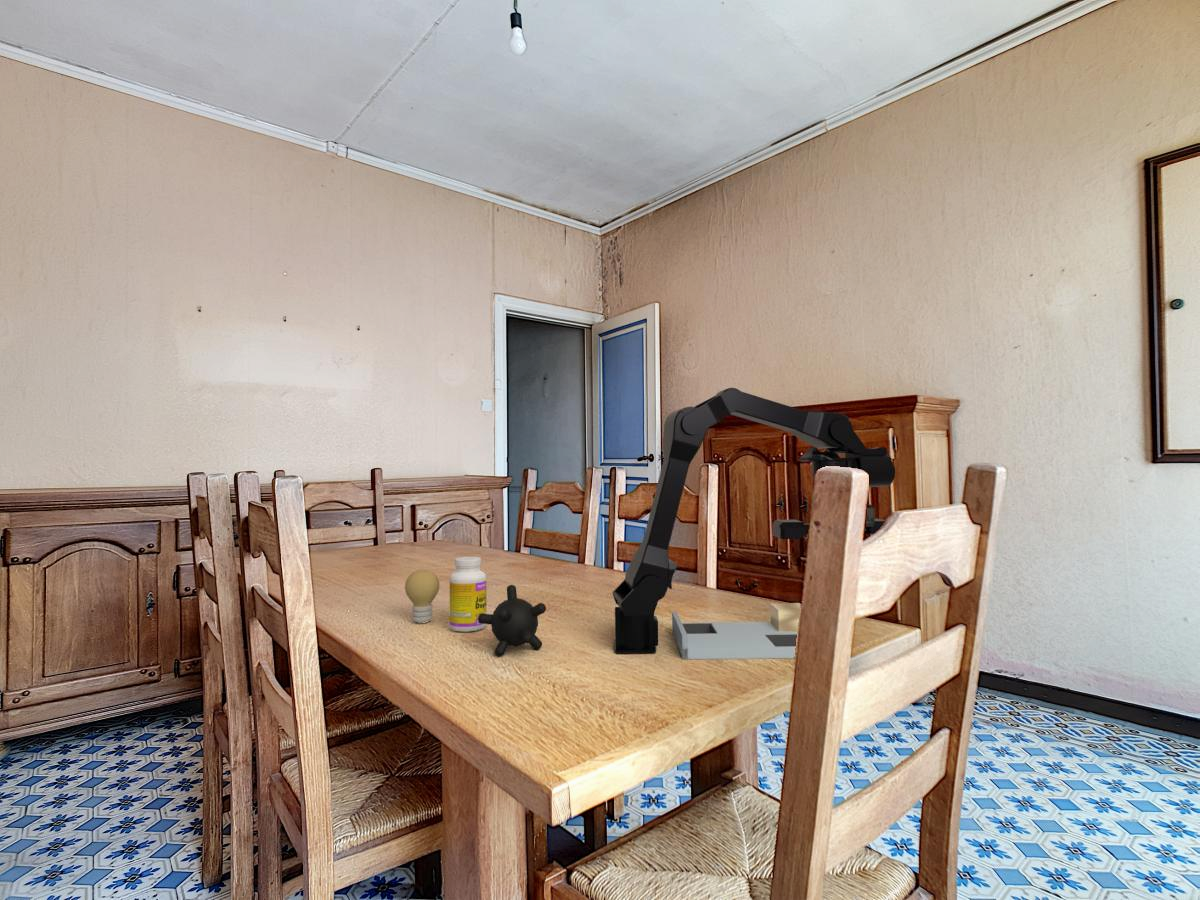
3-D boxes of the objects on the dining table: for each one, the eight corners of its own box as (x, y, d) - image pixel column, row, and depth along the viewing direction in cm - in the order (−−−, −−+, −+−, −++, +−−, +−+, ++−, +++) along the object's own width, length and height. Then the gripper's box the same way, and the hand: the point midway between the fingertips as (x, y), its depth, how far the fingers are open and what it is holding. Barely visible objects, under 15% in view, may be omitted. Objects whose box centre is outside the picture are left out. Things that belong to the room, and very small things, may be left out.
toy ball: (482, 648, 89) (458, 611, 99) (524, 684, 94) (497, 645, 105) (534, 595, 92) (505, 564, 102) (572, 633, 97) (541, 600, 107)
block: (778, 631, 100) (778, 610, 101) (770, 623, 105) (770, 603, 106) (809, 631, 100) (808, 609, 100) (799, 623, 105) (799, 603, 105)
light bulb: (405, 619, 119) (404, 568, 119) (439, 616, 121) (438, 566, 121) (405, 627, 113) (404, 573, 113) (440, 624, 114) (440, 571, 115)
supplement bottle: (478, 634, 107) (477, 561, 108) (443, 632, 109) (442, 560, 109) (492, 624, 114) (491, 555, 114) (459, 623, 115) (458, 555, 116)
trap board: (682, 659, 92) (682, 635, 92) (672, 632, 107) (671, 611, 107) (835, 657, 92) (834, 633, 92) (803, 630, 107) (802, 609, 107)
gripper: (789, 490, 95) (791, 590, 95) (908, 489, 95) (911, 589, 95) (770, 487, 107) (772, 577, 106) (877, 486, 106) (879, 576, 106)
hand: (832, 579), depth 103 cm, fingers closed
